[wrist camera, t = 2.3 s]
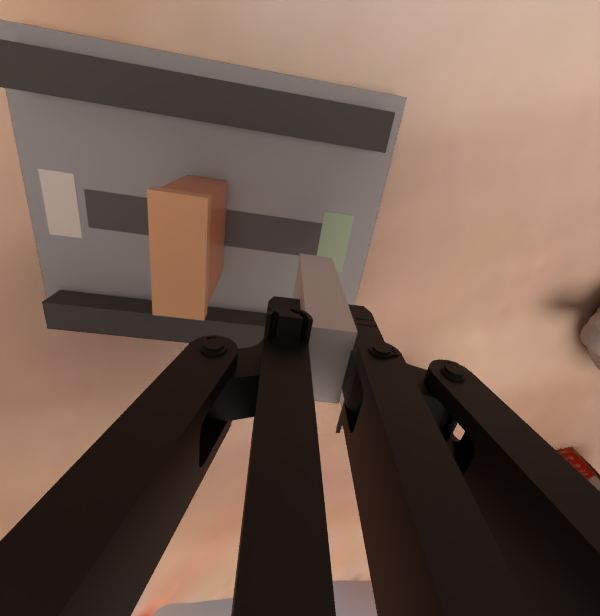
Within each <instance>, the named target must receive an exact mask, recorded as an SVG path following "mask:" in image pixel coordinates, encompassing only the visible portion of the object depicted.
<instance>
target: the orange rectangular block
mask: <svg viewBox="0 0 600 616" xmlns="http://www.w3.org/2000/svg"><path fill="white" fill-rule="evenodd" d="M227 188H228V181H226V180H220V179H213V178H207V177H200V176H194V175H186V176H184V177H182V178H179V179H177V180H175V181H173V182H170V183H168V184H166V185H164V186H162V187H151V188H149V189H147V205H148V227H149V249H150V271H151V293H152V315H158V316H167V317H176V318H185V319H194V320H203V321H204V320H205V318H206V315H207V307H208V304H209V302H210V300H211V297H212V295H213V293H214V291H215V288H216V286H217V284H218V281H219V279H220V277H221V274H222V272H223V259H224V241H225V224H226V206H227Z"/></svg>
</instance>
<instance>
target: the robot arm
mask: <svg viewBox="0 0 600 616" xmlns="http://www.w3.org/2000/svg"><path fill="white" fill-rule="evenodd" d="M341 392H343V397H344V402H343V406H342V410H341V413H340V417H339V420H338V424H337V429H336V433H340V430H341V426H343V428H344V434H345V439H346V445H347V450H348V456H349V461H350V467H351V472H352V478H353V483H354V489H355V494H356V500H357V505H358V510H359V516H360V521H361V527H362V532H363V538H364V543H365V549H366V554H367V560H368V565H369V571H370V576H371V582H372V587H373V593H374V598H375V604H376V609H377V614H378V616H600V491H599V490H598V489H597V488H596V487H595V486H594V485H593V484H591V483H590V482H589V481H588V480H587V479H586V478H585V477H584V476H583V475H582V474H581V473H580V472H578V471H577V470H576V469H575V468H574V467H573V466H572V465H571V464H570V463H569V462H568V461H567V460H566V459H564V458H563V457H562V456H561V455H560V454H559V453H558V452H557V451H556V450H555V449H554V448H553V447H551V446H550V445H549V444H548V443H547V442H546V441H545V440H544V439H543V438H542V437H541V436H540V435H539V434H537V433H536V432H535V431H534V430H533V429H532V428H531V427H530V426H529V425H528V424H527V423H526V422H525V421H523V420H522V419H521V418H520V417H519V416H518V415H517V414H516V413H515V412H514V411H513V410H512V409H510V408H509V407H508V406H507V405H506V404H505V403H504V402H503V401H502V400H501V399H500V398H499V397H498V396H496V395H495V394H494V393H493V392H492V391H491V390H490V389H489V388H488V387H487V386H486V385H485V384H483V383H482V382H481V381H480V380H479V379H478V378H477V377H476V376H475V375H474V374H473V373H472V372H470V371H469V370H468V369H466V368H465V367H463V366H461V365H459V364H458V363H456V362H453V361H452V362H451V361H449V360H434V361H432V362H431V363H430V365H429V367H428V370H425V369H422V368H418V367H415V366H412V365H409V364H407V363H406V362H405V360H404V358H403V356H402V354H401V353H400V352H399V350H398V349H396V348H395V347H393V346H392V345H390V344H388V343H385V342H384V339H383V337H382V335H381V333H380V331H379V329H378V327H377V324H376V322H375V320H374V318H373V315H372V313H371V312H370V311H368V310H367V309H366V308H365V307H364V306H357V305H349V304H348V303H347V300H346V297H345V294H344V291H343V288H342V286H341V283H340V280H339V277H338V274H337V271H336V268H335V265H334V262H333V259H332V258H329V257H322V256H315V255H307V254H300V256H299V262H298V268H297V274H296V281H295V287H294V293H293V298H286V297H278V296H274V297H273V298H271V299H270V300H269V301H268V307H267V315H266V323H265V331H264V338H263V340H262V341H261V342H260V343H258V344H257V345H254V346H252V347H247V348H239V349H238V347H237V344H236V343H235V342H234V341H232V340H231V339H229V338H226V337H224V336H217V335H209V336H203V337H200V338H197V339H195V340H194V341H192V342H191V343H190V344H189V345H188V346H187V347H186V348H185V349H184V350H183V351H182V352H181V353H180V354H179V355H178V356H177V357H176V358H175V359H174V360H173V362H172V363H171V364H170V365H169V366H168V367H167V368H166V369H165V370H164V371H163V372H162V373H161V374H160V375H159V376H158V377H157V378H156V379H155V380H154V381H153V382H152V383H151V384H150V386H149V387H148V388H147V389H146V390H145V391H144V392H143V393H142V394H141V395H140V396H139V397H138V398H137V399H136V400H135V401H134V402H133V403H132V404H131V405H130V406H129V407H128V408H127V410H126V411H125V412H124V413H123V414H122V415H121V416H120V417H119V418H118V419H117V420H116V421H115V422H114V423H113V424H112V425H111V426H110V427H109V428H108V429H107V430H106V431H105V432H104V434H103V435H102V436H101V437H100V438H99V439H98V440H97V441H96V442H95V443H94V444H93V445H92V446H91V447H90V448H89V449H88V450H87V451H86V452H85V453H84V454H83V455H82V456H81V458H80V459H79V460H78V461H77V462H76V463H75V464H74V465H73V466H72V467H71V468H70V469H69V470H68V471H67V472H66V473H65V474H64V475H63V476H62V477H61V478H60V479H59V480H58V482H57V483H56V484H55V485H54V486H53V487H52V488H51V489H50V490H49V491H48V492H47V493H46V494H45V495H44V496H43V497H42V498H41V499H40V500H39V501H38V502H37V503H36V504H35V506H34V507H33V508H32V509H31V510H30V511H29V512H28V513H27V514H26V515H25V516H24V517H23V518H22V519H21V520H20V521H19V522H18V523H17V524H16V525H15V526H14V527H13V528H12V530H11V531H10V532H9V533H8V534H7V535H6V536H5V537H4V538H3V539H2V540H1V541H0V616H131V614H132V612H133V610H134V608H135V606H136V604H137V602H138V601H139V599H140V597H141V595H142V593H143V591H144V589H145V587H146V585H147V584H148V582H149V580H150V578H151V576H152V574H153V572H154V570H155V568H156V567H157V565H158V563H159V561H160V559H161V557H162V555H163V553H164V551H165V550H166V548H167V546H168V544H169V542H170V540H171V538H172V536H173V534H174V532H175V531H176V529H177V527H178V525H179V523H180V521H181V519H182V517H183V515H184V514H185V512H186V510H187V508H188V506H189V504H190V502H191V500H192V498H193V497H194V495H195V493H196V491H197V489H198V487H199V485H200V483H201V481H202V479H203V478H204V476H205V474H206V472H207V470H208V468H209V466H210V464H211V462H212V461H213V459H214V457H215V455H216V453H217V451H218V449H219V447H220V445H221V444H222V442H223V440H224V438H225V436H226V434H227V432H228V430H229V428H230V426H231V423H232V420H237V419H243V418H249V417H254V423H253V432H252V440H251V449H250V458H249V466H248V475H247V484H246V492H245V501H244V510H243V518H242V527H241V536H240V544H239V553H238V562H237V570H236V579H235V588H234V596H233V605H232V614H231V616H336V612H335V602H334V592H333V583H332V572H331V562H330V552H329V542H328V532H327V522H326V513H325V503H324V493H323V483H322V473H321V463H320V453H319V443H318V433H317V423H316V413H315V403H314V401H320V402H330V403H339V400H340V396H341ZM457 423H459V425H460V426H461V427H462V428H463V429H464V430H465V433H464V435H463V437H462V439H461V440H458V439H457V438H456V437H455V436H454V434H453V431H454V429H455V427H456V425H457Z"/></svg>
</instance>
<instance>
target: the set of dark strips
mask: <svg viewBox="0 0 600 616" xmlns="http://www.w3.org/2000/svg"><path fill="white" fill-rule="evenodd" d="M0 87H3V88H9V89H15V90H21V91H27V92H32V93H38V94H44V95H50V96H56V97H61V98H67V99H73V100H79V101H85V102H91V103H96V104H102V105H108V106H114V107H120V108H126V109H131V110H137V111H143V112H149V113H155V114H161V115H166V116H172V117H178V118H184V119H190V120H195V121H201V122H207V123H213V124H219V125H225V126H230V127H236V128H242V129H248V130H254V131H260V132H265V133H271V134H277V135H283V136H289V137H295V138H300V139H306V140H312V141H318V142H324V143H329V144H335V145H341V146H347V147H353V148H359V149H364V150H370V151H376V152H382V153H386V149H387V145H388V141H389V137H390V133H391V129H392V125H393V121H394V117H395V113H396V112H391V111H385V110H380V109H374V108H369V107H364V106H358V105H353V104H347V103H342V102H337V101H331V100H326V99H321V98H315V97H310V96H304V95H299V94H294V93H288V92H283V91H277V90H272V89H267V88H261V87H256V86H251V85H245V84H240V83H234V82H229V81H224V80H218V79H213V78H207V77H202V76H197V75H191V74H186V73H181V72H175V71H170V70H164V69H159V68H154V67H148V66H143V65H137V64H132V63H127V62H121V61H116V60H111V59H105V58H100V57H94V56H89V55H84V54H78V53H73V52H67V51H62V50H57V49H51V48H46V47H40V46H35V45H30V44H24V43H19V42H14V41H8V40H3V39H0ZM42 304H43V309H44V314H45V318H46V323H47V328H48V329H58V330H68V331H77V332H87V333H97V334H107V335H116V336H126V337H136V338H146V339H156V340H165V341H175V342H185V343H191V342H192V341H194V340H195V339H197V338H200V337H203V336H209V335H217V336H224V337H226V338H229V339H231V340H232V341H234V342H235V343H236V344H237V347H238V348H247V347H252V346H254V345H257V344H258V343H260V342H261V341H262V340H263V338H264V331H265V323H266V315H267V313H260V312H251V311H243V310H234V309H225V308H216V307H207V315H206V318H205V320H204V321H203V320H194V319H185V318H176V317H167V316H158V315H152V300H146V299H138V298H129V297H120V296H111V295H103V294H94V293H85V292H76V291H68V290H59V291H57V292H56V293H54V294H53V295H52V296H50V297H49V298H47V299H46V300H45V301H43V302H42Z"/></svg>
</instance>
